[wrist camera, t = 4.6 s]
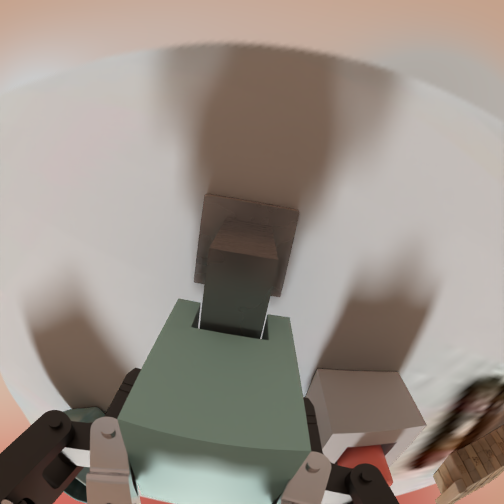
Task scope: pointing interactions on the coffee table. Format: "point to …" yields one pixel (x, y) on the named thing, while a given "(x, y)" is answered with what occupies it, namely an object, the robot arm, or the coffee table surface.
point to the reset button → (366, 459)
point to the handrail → (241, 262)
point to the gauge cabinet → (364, 412)
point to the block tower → (471, 467)
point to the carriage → (216, 414)
